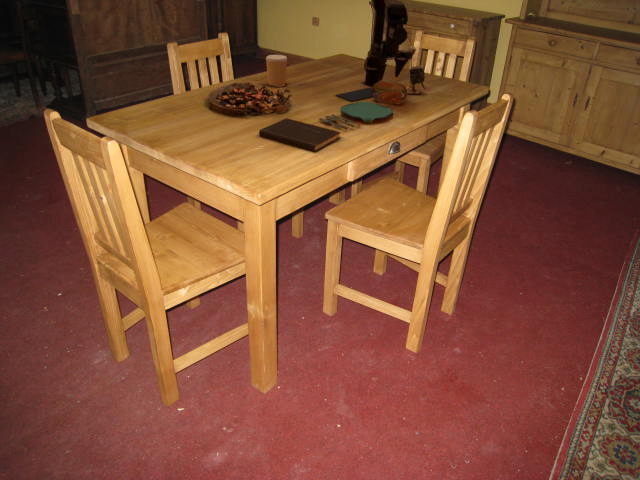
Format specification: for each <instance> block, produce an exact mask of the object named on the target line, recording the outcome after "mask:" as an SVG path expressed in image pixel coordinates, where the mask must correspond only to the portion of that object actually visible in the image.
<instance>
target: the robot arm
mask: <svg viewBox="0 0 640 480" xmlns="http://www.w3.org/2000/svg"><path fill="white" fill-rule="evenodd" d="M370 1H371V6H372V8H373V11H374V19H373V29H372V41H371V45H370V48H369V50H368V51H367V54H366V55H367V56H366V57H365V60H364V63H363V70H364V71H365V78H364V81H363V82H362V84H365V85H367V86H370V87H373V85H374V84H375V83H377V82H380V81H383V79H384V75H385V72H386V69H387V61H389V60H393V61H394V62H395V66H394V78H398V77H399V76H400V74H401V73H402V71H403V69H404V68H405V66H406V64H407V63H408V62H409V61H410V60H411V55H412V54H411V53H410V52H409V51H408V50H405V49H400V46H402V45H403V44H404V43H405V42H406V41H407V39H408V32H407V30H406V29H405V28H404V25H405V26H406V25H408V21H409V16H408V15H409V14H408V10H407V7H406V4H405V3H404V2H403V1H401V0H370ZM385 24H386V29H385ZM384 31H385V39H384Z"/></svg>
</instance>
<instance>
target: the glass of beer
mask: <svg viewBox="0 0 640 480" xmlns="http://www.w3.org/2000/svg"><path fill="white" fill-rule="evenodd" d="M265 60H266V61H265V63H266V74H267V86H270V85H269V84H271V85H278V86H279V87H278V88H280V87H285V85H286V81H287V67H288V58H287V56H286V55H282V54H269V55H267V56H266V57H265ZM273 87H274V86H273ZM273 87H272V88H273ZM274 88H275V87H274Z"/></svg>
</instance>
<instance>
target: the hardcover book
mask: <svg viewBox="0 0 640 480" xmlns="http://www.w3.org/2000/svg"><path fill="white" fill-rule="evenodd" d="M340 134H341V131H338V130H334V129H330V128H326V127H323V126H319V125H315V124H311V123H307V122H303V121H299V120H295V119H292V118H288V117H286V118H283V119H282V120H279V121H277V122H274V123H272V124H270V125H268V126H265V127H263V128H261V129H259V131H258V135H259V137H262V138H266V139H269V140H272V141H276V142H279V143H283V144H286V145H290V146H294V147H297V148H300V149H304V150H308V151H310V152H311V151H312V152H318V151H320V150H321V149H324V148H325V147H327V146H329V145H330V144H332V143H334V142H336V141H338V140H340V139H341V137H340Z"/></svg>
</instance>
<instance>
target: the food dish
mask: <svg viewBox="0 0 640 480" xmlns="http://www.w3.org/2000/svg"><path fill="white" fill-rule="evenodd" d="M256 85H261V87H260V88H259V87H256ZM268 86H269V87H272V88H273V86H274V89H272V90H271V91H270V89H268V87H267V83H261V82H254V84H253V82H240V83H238V82H233V83H229V84H227V85H224V86H220V87H218V88H215V89H213V90H212V91H211V92H209V93H208V97H207V99H206V101H207V103H206V105H207V108H209V109H211V110H213V111H215V112H219V113H222V114H226V115H229V116H241V117H242V116H251V117H256V116H266V115H271V114H284V113H285V112H286V111H287V108H288V107H289V106H290V103H289V102H290V101H291V99H290V98H291V97H292V96H293V94H291V92H292V91H291V89H288V88H285V89H284V91H283V90H281V91H280V89H276V88H280V87H279V86H278V85H271V84H269V85H268ZM286 93H288V95H287V97H286V96H285V94H286Z"/></svg>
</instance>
